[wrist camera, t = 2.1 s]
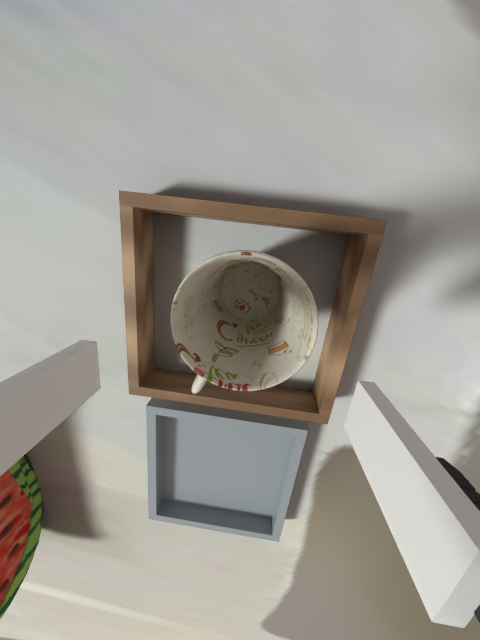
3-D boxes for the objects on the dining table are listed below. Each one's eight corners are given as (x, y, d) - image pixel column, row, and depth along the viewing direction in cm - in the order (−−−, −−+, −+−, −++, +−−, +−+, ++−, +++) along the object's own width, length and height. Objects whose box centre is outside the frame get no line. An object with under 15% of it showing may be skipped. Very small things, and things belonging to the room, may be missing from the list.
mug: (312, 275, 22) (351, 301, 12) (245, 376, 26) (236, 456, 16) (232, 229, 21) (208, 218, 11) (177, 340, 25) (125, 401, 15)
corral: (141, 198, 21) (118, 190, 17) (366, 224, 20) (387, 220, 16) (145, 374, 27) (129, 393, 23) (318, 400, 26) (327, 424, 22)
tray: (156, 391, 27) (146, 405, 25) (303, 413, 26) (308, 430, 24) (156, 499, 33) (148, 518, 31) (277, 519, 32) (278, 541, 30)
